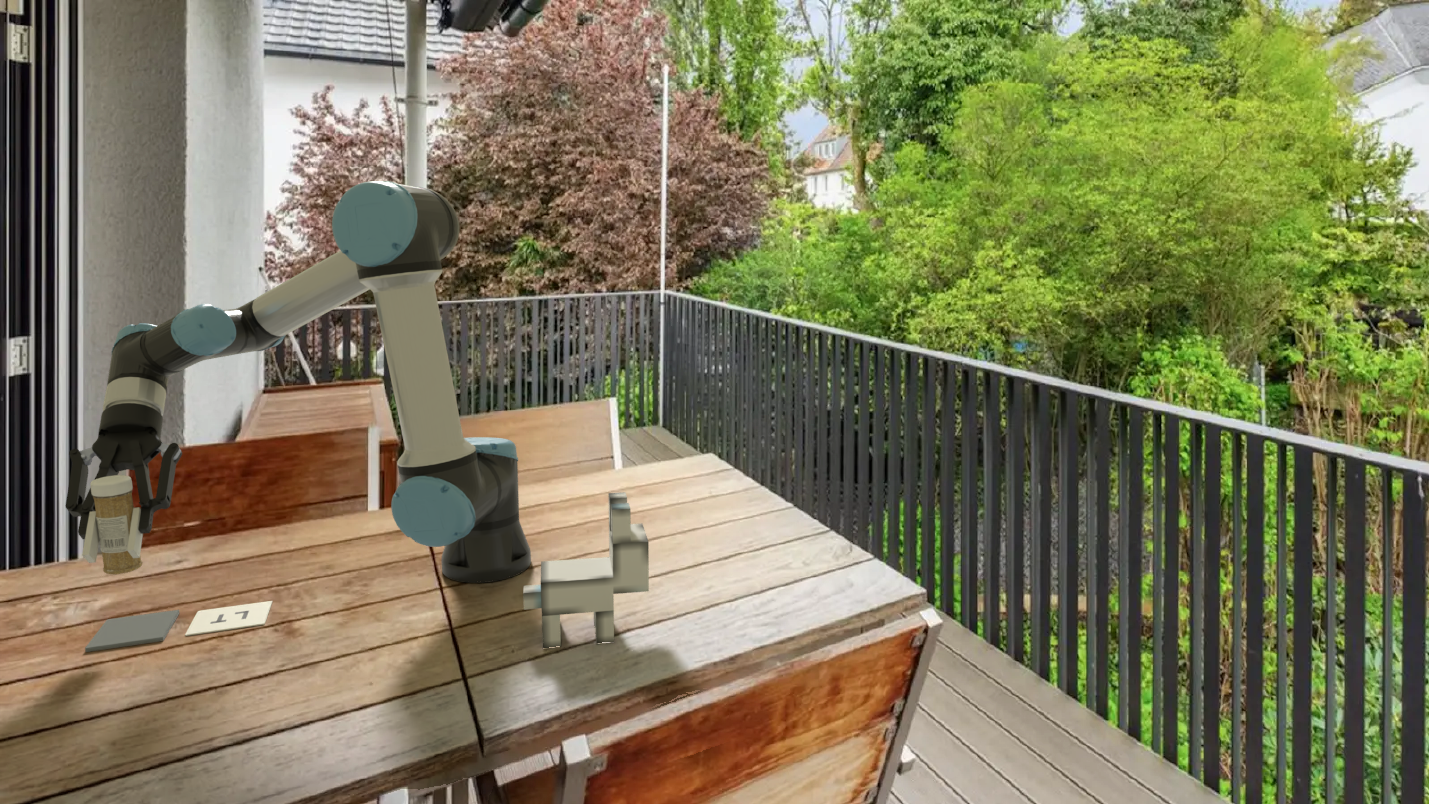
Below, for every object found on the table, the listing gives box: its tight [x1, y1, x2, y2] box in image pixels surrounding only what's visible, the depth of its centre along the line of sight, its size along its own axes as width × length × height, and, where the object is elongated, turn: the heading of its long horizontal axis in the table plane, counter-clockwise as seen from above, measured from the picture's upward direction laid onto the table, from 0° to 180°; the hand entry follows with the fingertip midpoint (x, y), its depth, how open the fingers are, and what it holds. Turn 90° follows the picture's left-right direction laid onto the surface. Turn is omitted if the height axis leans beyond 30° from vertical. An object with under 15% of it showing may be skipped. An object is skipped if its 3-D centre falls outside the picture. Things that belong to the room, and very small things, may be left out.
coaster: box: [84, 609, 180, 653], centre depth 112 cm, size 9×9×1 cm
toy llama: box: [522, 492, 650, 649], centre depth 112 cm, size 8×18×20 cm, turn 102°
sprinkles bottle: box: [89, 474, 143, 576], centre depth 109 cm, size 5×5×13 cm
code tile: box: [184, 600, 273, 637], centre depth 117 cm, size 10×8×1 cm
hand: (111, 556), depth 106 cm, fingers closed on sprinkles bottle, 4 cm apart
